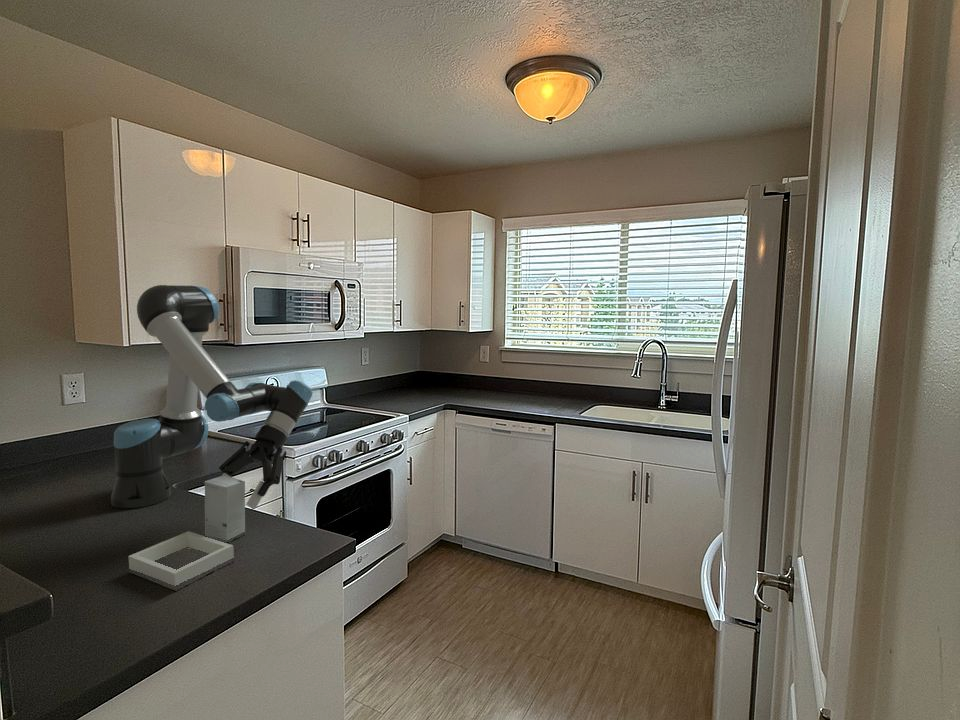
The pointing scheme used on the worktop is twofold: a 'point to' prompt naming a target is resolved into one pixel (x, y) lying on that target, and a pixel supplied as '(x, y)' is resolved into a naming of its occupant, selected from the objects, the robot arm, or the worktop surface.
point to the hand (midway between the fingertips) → (231, 502)
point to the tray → (147, 557)
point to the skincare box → (224, 507)
